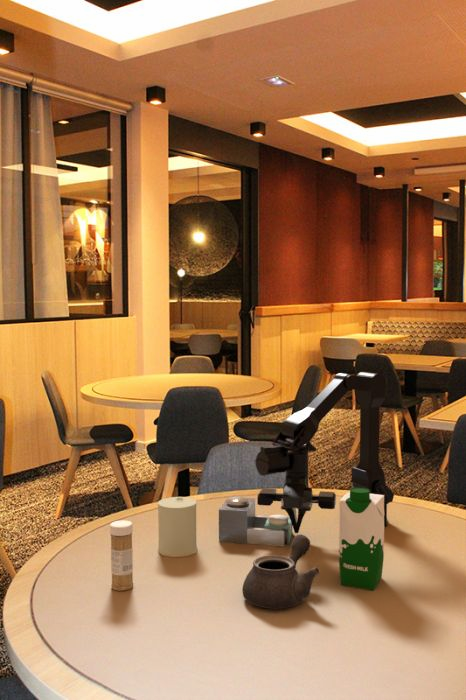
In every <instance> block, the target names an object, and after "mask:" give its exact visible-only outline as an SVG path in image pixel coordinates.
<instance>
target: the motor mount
mask: <svg viewBox="0 0 466 700" xmlns="http://www.w3.org/2000/svg"><path fill="white" fill-rule="evenodd" d="M269 516H270V515H256V498H253V497H244V496H228V497H227V498H226V499H225V501H224V502H223V503H222V504H221V506H220V507H219V509H218V542H220V543H231V544H233V543H234V544H247V545H248V544H249V545H264V546H274V547H275V546H276V547H277V546H278V547H279V546H280V547H285V546H288V545H289V543H288V529H282V530H280V529H265V524H266V521H267V519H268V518H269ZM287 517H288V519H290V517H289V516H287Z"/></svg>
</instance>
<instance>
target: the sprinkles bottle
mask: <svg viewBox="0 0 466 700" xmlns="http://www.w3.org/2000/svg"><path fill="white" fill-rule="evenodd" d="M133 531H134V529H133V523H132V522H131V521H130V520H116V521H113V522H111V523H110V525H109V534H110V542H111V543H110V545H111V546H110V567H111V568H110V569H111V570H110V571H111V588H112V589H113V590H114V591H120V592H121V591H123V592H124V591H128V590H130V589H132V588H133V587H134V582H133V581H134V580H133V578H134V577H133V572H134V568H133V567H134V566H133V565H134V564H133V563H134V560H133V559H134V558H133V557H134V555H133V553H134V551H133Z"/></svg>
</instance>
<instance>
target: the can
mask: <svg viewBox="0 0 466 700" xmlns="http://www.w3.org/2000/svg"><path fill="white" fill-rule="evenodd" d="M197 504H198V502H197V500H196V499H194V498H191V497H186V496H170V497H166V498H162V499H160V500H158V502H157V511H158V514H157V515H158V519H157V520H158V547H157V551H158V553H159V554H161V555H162V556H165V557H171V558H183V557H188V556H191V555H194V554H195V553H196V552H197V551H198V546H197V541H198V540H197Z"/></svg>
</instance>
